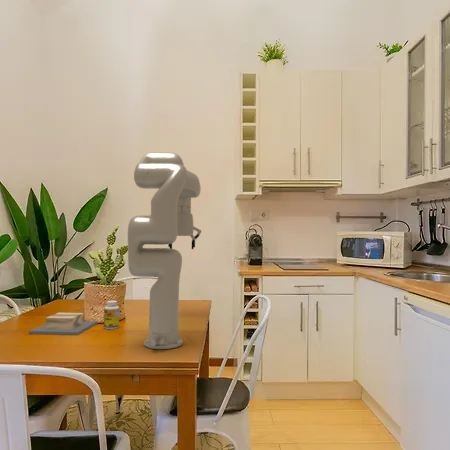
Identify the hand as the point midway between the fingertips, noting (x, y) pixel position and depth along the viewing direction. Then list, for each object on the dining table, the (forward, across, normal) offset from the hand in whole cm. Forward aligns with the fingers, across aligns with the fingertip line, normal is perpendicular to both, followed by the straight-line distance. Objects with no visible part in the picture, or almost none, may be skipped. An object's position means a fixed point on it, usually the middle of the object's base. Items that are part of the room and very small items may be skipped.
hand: (181, 249), depth 169 cm
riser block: (+30, -42, -22) cm, 56 cm away
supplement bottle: (+30, -25, -20) cm, 44 cm away
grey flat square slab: (+30, -42, -22) cm, 56 cm away
